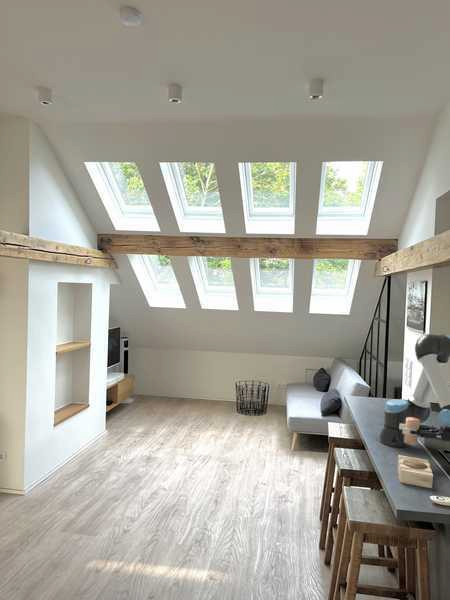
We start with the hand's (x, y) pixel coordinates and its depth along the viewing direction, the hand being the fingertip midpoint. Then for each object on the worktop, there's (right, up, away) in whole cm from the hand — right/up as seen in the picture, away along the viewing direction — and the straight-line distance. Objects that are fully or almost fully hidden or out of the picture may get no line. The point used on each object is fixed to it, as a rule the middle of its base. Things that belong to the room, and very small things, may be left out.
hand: (401, 428), depth 232 cm
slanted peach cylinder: (+4, -7, 0) cm, 8 cm away
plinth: (-3, -16, -22) cm, 27 cm away
